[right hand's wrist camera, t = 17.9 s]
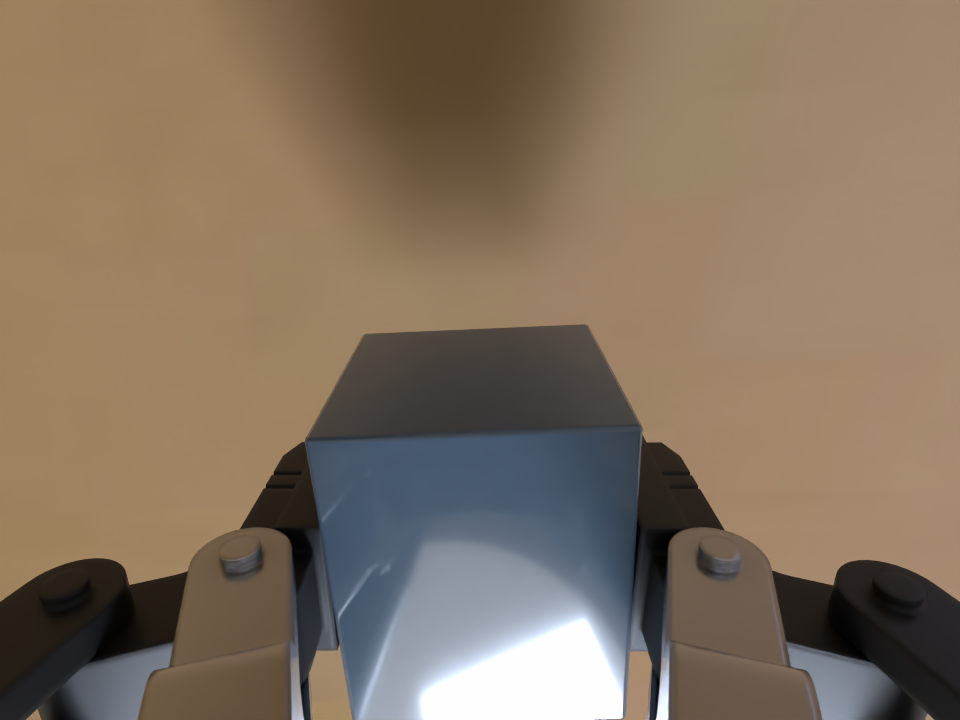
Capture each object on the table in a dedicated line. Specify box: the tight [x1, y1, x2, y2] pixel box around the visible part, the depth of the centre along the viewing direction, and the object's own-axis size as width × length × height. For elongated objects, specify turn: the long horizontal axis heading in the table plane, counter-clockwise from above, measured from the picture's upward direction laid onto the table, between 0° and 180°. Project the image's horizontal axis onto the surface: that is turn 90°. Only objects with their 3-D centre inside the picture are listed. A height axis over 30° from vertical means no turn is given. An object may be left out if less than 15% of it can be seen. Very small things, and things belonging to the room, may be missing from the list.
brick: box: [305, 325, 643, 720], centre depth 11 cm, size 4×5×4 cm
